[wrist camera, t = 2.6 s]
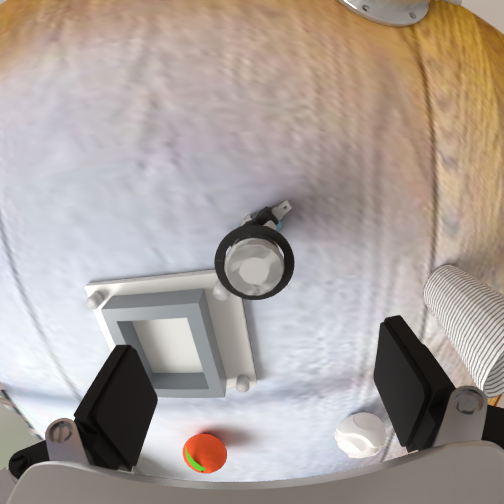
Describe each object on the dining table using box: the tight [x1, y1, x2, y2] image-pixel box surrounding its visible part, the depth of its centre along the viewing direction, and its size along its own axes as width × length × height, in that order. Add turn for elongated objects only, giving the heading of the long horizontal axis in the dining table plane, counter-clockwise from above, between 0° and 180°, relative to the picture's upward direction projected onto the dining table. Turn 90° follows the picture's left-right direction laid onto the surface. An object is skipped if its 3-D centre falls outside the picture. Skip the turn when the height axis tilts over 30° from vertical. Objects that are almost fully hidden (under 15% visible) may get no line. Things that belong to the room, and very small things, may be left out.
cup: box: [423, 264, 504, 399], centre depth 22 cm, size 8×8×16 cm
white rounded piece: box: [335, 412, 386, 458], centre depth 34 cm, size 8×8×8 cm
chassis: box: [85, 269, 257, 398], centre depth 31 cm, size 18×16×4 cm
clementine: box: [183, 434, 227, 473], centre depth 36 cm, size 8×7×7 cm
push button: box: [215, 200, 294, 300], centre depth 23 cm, size 7×5×10 cm
